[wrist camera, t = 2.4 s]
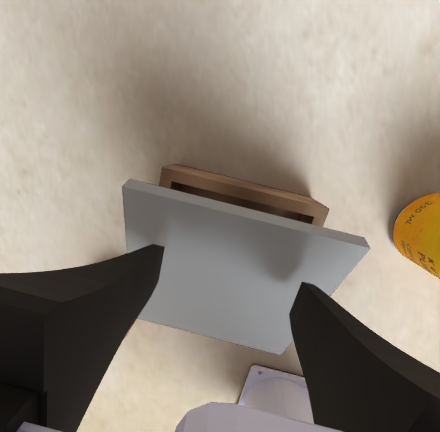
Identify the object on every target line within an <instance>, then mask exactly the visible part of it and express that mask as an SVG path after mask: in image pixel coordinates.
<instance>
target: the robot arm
mask: <svg viewBox="0 0 440 432" xmlns="http://www.w3.org/2000/svg"><path fill="white" fill-rule="evenodd" d="M164 249H165V247H164V246H160V245H156V244H151V245H148V246H146V247H143V248H140V249H138V250H135V251H133V252H130V253H127V254H125V255H122V256H119V257H116V258H112V259H109V260H106V261H103V262H99V263H95V264H90V265H86V266H81V267H74V268H68V269H62V270H54V271H44V272H31V273H0V432H76V431H77V429H78V427H79V425H80V423H81V421H82V419H83V417H84V415H85V413H86V410H87V408H88V406H89V404H90V402H91V400H92V398H93V396H94V394H95V392H96V390H97V388H98V386H99V384H100V382H101V380H102V378H103V376H104V374H105V373H106V371H107V369H108V367H109V365H110V363H111V361H112V359H113V357H114V355H115V353H116V351H117V350H118V348H119V346H120V344H121V342H122V341H123V339H124V337H125V336H126V334H127V332H128V331H129V329H130V328H131V326H132V325H133V323H134V322H135V320H136V319H137V317H138V316H139V314H140V313H141V311H142V310H143V308H144V307H145V305H146V304H147V302H148V301H149V299H150V298H151V296H152V294H153V292H154V290H155V288H156V285H157V283H158V281H159V276H160V271H161V265H162V260H163V254H164ZM289 318H290V326H291V332H292V336H293V340H294V343H295V347H296V350H297V354H298V357H299V360H300V364H301V367H302V371H303V374H304V377H305V378H304V377H300V376H297V375H293V374H289V373H285V372H281V371H277V370H273V369H269V368H265V367H261V366H258V365H253V366H252V367H251V369H250V371H249V374H248V377H247V380H246V382H245V385H244V388H243V391H242V393H241V396H240V399H239V402H238V404H233V403H217V402H210V403H208V404H205V405H202V406H200V407H197V408H194V409H192V410H190V411H188V412H187V413H186V415H185V416H184V417H183V419H182V420H181V421H180V423H179V424H178V425H177V427H176V430H175V432H440V373H439V372H437V371H435V370H434V369H432V368H430V367H428V366H426V365H425V364H423V363H421V362H420V361H418V360H416V359H415V358H413V357H411V356H410V355H408V354H406V353H405V352H403V351H401V350H400V349H398V348H397V347H395V346H394V345H392V344H391V343H389V342H388V341H386V340H385V339H383V338H382V337H380V336H379V335H377V334H376V333H375V332H373V331H372V330H370V329H369V328H368V327H366V326H365V325H364V324H363V323H361V322H360V321H359V320H357V319H356V318H355V317H354V316H352V315H351V314H350V313H349V312H347V311H346V310H345V309H344V308H343V307H341V306H340V305H339V304H338V303H337V302H335V301H334V300H333V299H332V298H331V297H330V296H328V295H327V294H326V293H325V292H323V291H322V290H321V289H320V288H318V287H317V286H315V285H314V284H310V283H306V282H301V285H300V287H299V290H298V292H297V295H296V298H295V300H294V303H293V305H292V308H291V310H290V313H289Z"/></svg>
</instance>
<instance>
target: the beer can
mask: <svg viewBox="0 0 440 432" xmlns="http://www.w3.org/2000/svg"><path fill="white" fill-rule="evenodd" d="M393 238H394V243H395V246H396V248H397V249H398V251H399V252H400V253H401V254H402V255H403V256H405V257H406V258H408V259H409V260H411V261H412V262H414V263H416V264H417V265H419V266H420V267H422V268H423V269H425V270H427V271H428V272H430V273H431V274H433V275H434V276H436V277H438V278H439V279H440V193H433V194H429V195H426V196H423V197H421V198H419V199H417V200H415V201H414V202H412V203H411V204H409V205H408V206H407V207H405V208H404V209H403V210H402V211H401V213H400V214H399V215H398V217H397V219H396V221H395V224H394V231H393Z"/></svg>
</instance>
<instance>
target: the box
mask: <svg viewBox="0 0 440 432" xmlns="http://www.w3.org/2000/svg"><path fill="white" fill-rule="evenodd" d="M159 186H160V187H164V188H168V189H172V190H176V191H180V192H184V193H188V194H192V195H196V196H200V197H204V198H208V199H212V200H216V201H220V202H224V203H228V204H232V205H236V206H240V207H244V208H248V209H252V210H256V211H260V212H264V213H268V214H272V215H276V216H280V217H284V218H288V219H292V220H296V221H300V222H304V223H308V224H312V225H316V226H320V227H323V224H324V222H325V219H326V217H327V214H328V212H329V208H327V207H326V206H324V205H322V204H321V203H319V202H318V201H316V200H315V199H313V198H311V197H307V196H303V195H299V194H295V193H291V192H287V191H283V190H279V189H275V188H271V187H267V186H263V185H259V184H255V183H251V182H247V181H243V180H239V179H235V178H231V177H227V176H223V175H219V174H215V173H211V172H207V171H203V170H199V169H195V168H191V167H187V166H183V165H179V164H175V165H170V166H166V167H162V172H161V178H160V184H159Z"/></svg>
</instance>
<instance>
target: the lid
mask: <svg viewBox="0 0 440 432" xmlns="http://www.w3.org/2000/svg"><path fill="white" fill-rule="evenodd" d="M122 192H123V205H124V218H125V231H126V244H127V253H130V252H133V251H135V250H138V249H140V248H143V247H146V246H148V245H151V244H156V245H160V246H164V247H165V249H164V254H163V260H162V265H161V271H160V276H159V281H158V283H157V285H156V288H155V290H154V292H153V294H152V296H151V298H150V299H149V301H148V302H147V304H146V305H145V307H144V308H143V310H142V311H141V313H140V314H139V316H138V317H137V319H141V320H145V321H149V322H153V323H157V324H161V325H165V326H169V327H172V328H176V329H180V330H184V331H188V332H192V333H196V334H200V335H204V336H208V337H212V338H215V339H219V340H223V341H227V342H231V343H235V344H239V345H243V346H247V347H251V348H255V349H258V350H262V351H266V352H270V353H274V354H278V355H281V354H282V353H283V352H284V350H285V349H286V348H287V347H288V346H289V344H290V343H291V342H292V341H293V336H292V332H291V326H290V318H289V313H290V310H291V308H292V305H293V303H294V300H295V298H296V295H297V292H298V290H299V287H300V285H301V282H306V283H310V284H314V285H315V286H317V287H318V288H320V289H321V290H322V291H323V292H325V293H326V294H327V295H328V296H331V295H332V293H333V292H334V291H335V290H336V289H337V287H338V286H339V285H340V284H341V283H342V281H343V280H344V279H345V278H346V277H347V276H348V274H349V273H350V272H351V271H352V270H353V268H354V267H355V266H356V265H357V264H358V262H359V261H360V260H361V259H362V258H363V257H364V255H365V254H366V253H367V252H368V251H369V249H370V247H369V245H368V243H367V242H366V240H365V238H364V237H360V236H356V235H352V234H348V233H344V232H340V231H336V230H332V229H328V228H324V227H320V226H316V225H312V224H308V223H304V222H300V221H296V220H292V219H288V218H284V217H280V216H276V215H272V214H268V213H264V212H260V211H256V210H252V209H248V208H244V207H240V206H236V205H232V204H228V203H224V202H220V201H216V200H212V199H208V198H204V197H200V196H196V195H192V194H188V193H184V192H180V191H176V190H172V189H168V188H164V187H160V186H156V185H152V184H148V183H144V182H140V181H136V180H132V179H129V180H128V181H127V182H126V183H125V184H124V185H123V186H122Z"/></svg>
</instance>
